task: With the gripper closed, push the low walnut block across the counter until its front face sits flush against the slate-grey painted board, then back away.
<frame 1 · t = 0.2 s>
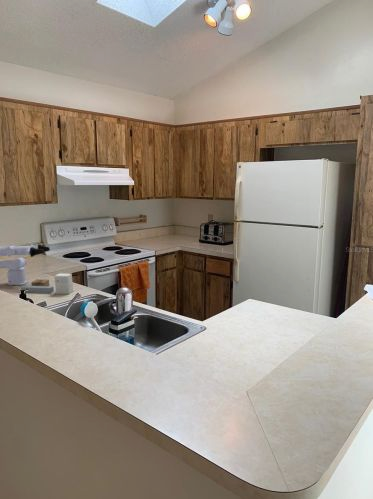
hand: (46, 250, 228), 21 cm above the worktop, tool horizontal, fingers open, 7 cm apart
board: (37, 291, 217), on the worktop
small box: (64, 292, 216), on the worktop
walnut block: (40, 287, 227), on the worktop
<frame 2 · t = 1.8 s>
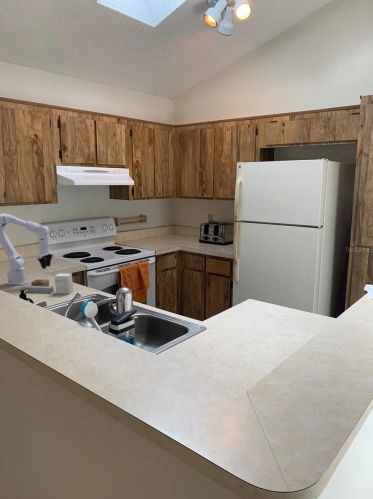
hand: (46, 267, 233), 10 cm above the worktop, tool pointing down, fingers open, 5 cm apart
nothing on the worktop moved.
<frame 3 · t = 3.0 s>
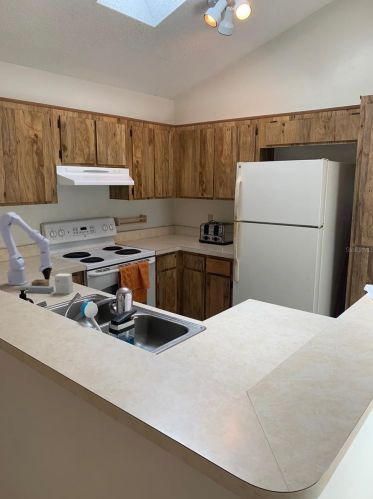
hand: (47, 279, 235), 2 cm above the worktop, tool pointing down, fingers closed
nothing on the worktop moved.
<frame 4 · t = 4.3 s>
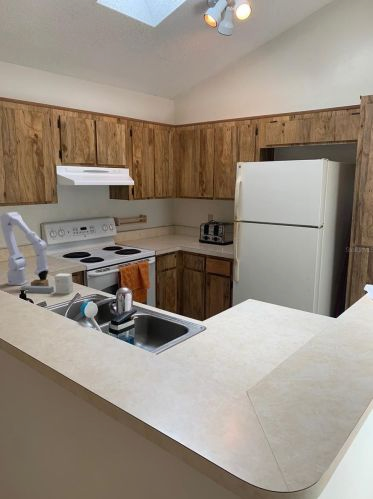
hand: (43, 282, 230), 1 cm above the worktop, tool pointing down, fingers closed
walnut block: (40, 287, 226), on the worktop, touching gripper
everything else where it was.
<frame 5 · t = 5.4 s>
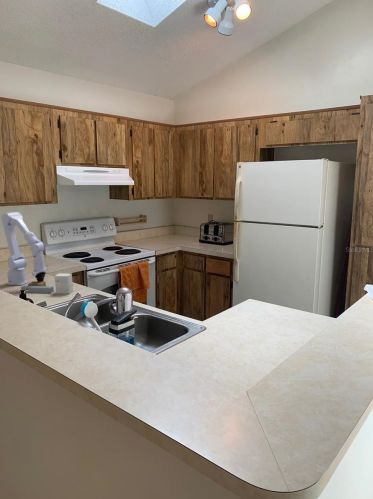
hand: (40, 284, 227), 1 cm above the worktop, tool pointing down, fingers closed
walnut block: (37, 289, 223), on the worktop
everything else where it was.
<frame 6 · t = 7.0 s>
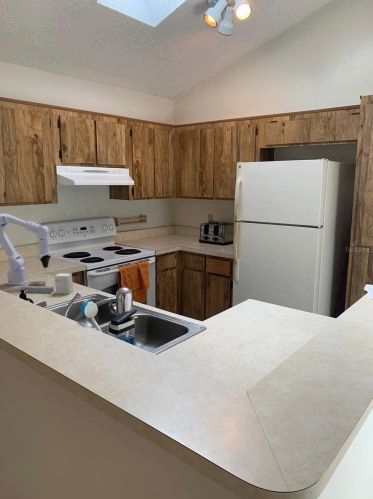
hand: (45, 267, 233), 10 cm above the worktop, tool pointing down, fingers closed
nothing on the worktop moved.
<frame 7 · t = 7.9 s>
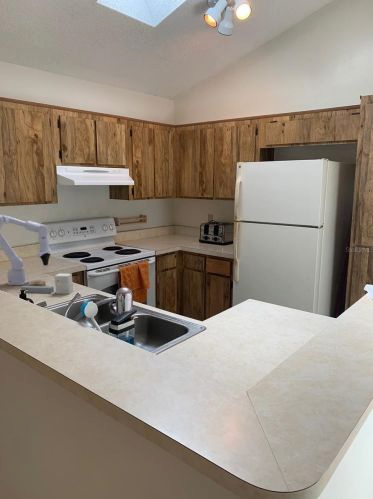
hand: (45, 265, 239), 10 cm above the worktop, tool pointing down, fingers closed
nothing on the worktop moved.
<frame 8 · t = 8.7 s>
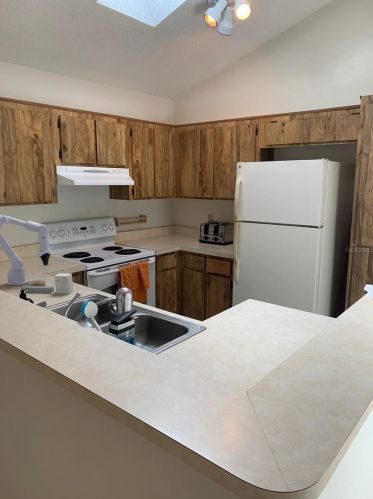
hand: (45, 265, 239), 10 cm above the worktop, tool pointing down, fingers closed
nothing on the worktop moved.
at the end: walnut block 0.1 cm from the target spot on the worktop beside the board, on the worktop; walnut block tilted 0°; walnut block moved 4.1 cm from its start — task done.
